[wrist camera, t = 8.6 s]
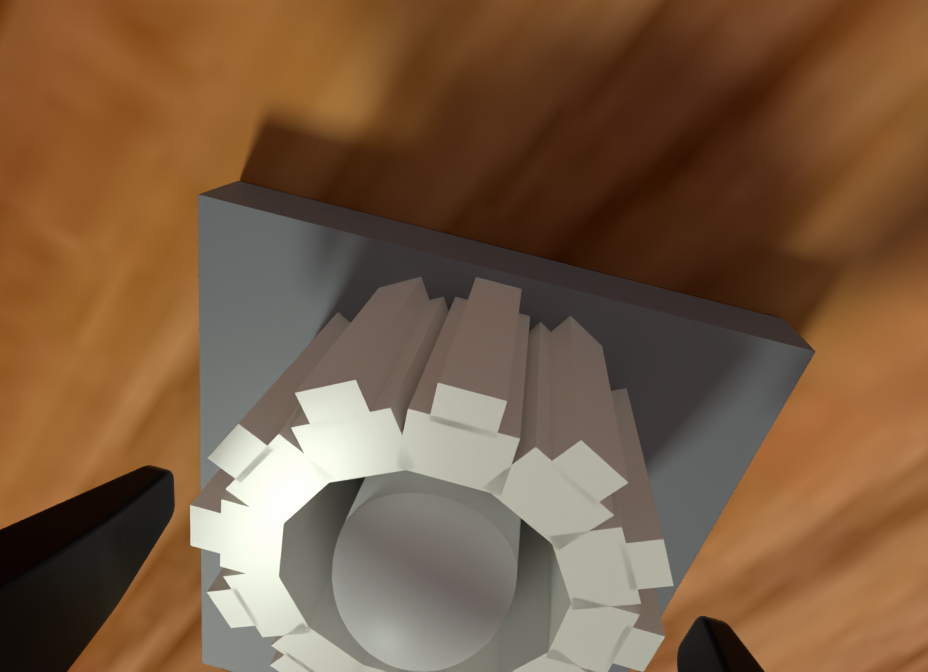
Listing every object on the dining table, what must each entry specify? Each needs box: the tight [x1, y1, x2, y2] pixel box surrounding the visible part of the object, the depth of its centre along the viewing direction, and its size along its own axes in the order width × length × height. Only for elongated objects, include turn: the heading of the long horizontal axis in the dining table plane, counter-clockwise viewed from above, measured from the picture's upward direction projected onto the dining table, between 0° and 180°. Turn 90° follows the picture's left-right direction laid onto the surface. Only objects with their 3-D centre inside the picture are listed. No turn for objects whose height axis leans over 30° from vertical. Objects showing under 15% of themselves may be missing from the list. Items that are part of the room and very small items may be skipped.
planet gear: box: [190, 277, 674, 672], centre depth 10 cm, size 8×8×4 cm
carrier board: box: [198, 181, 815, 672], centre depth 12 cm, size 12×15×6 cm
